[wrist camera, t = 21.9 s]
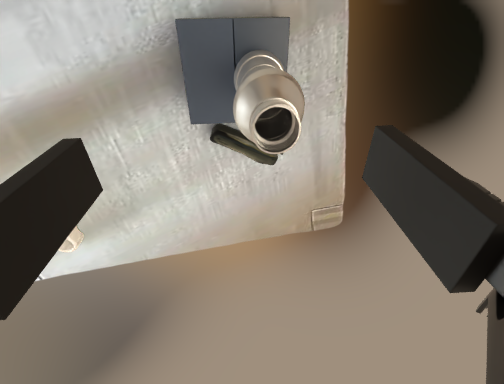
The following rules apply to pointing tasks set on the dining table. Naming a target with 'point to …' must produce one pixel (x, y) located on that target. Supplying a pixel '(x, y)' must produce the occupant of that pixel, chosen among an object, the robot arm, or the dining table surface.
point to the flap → (208, 68)
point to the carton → (260, 36)
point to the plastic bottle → (267, 102)
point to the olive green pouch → (241, 144)
